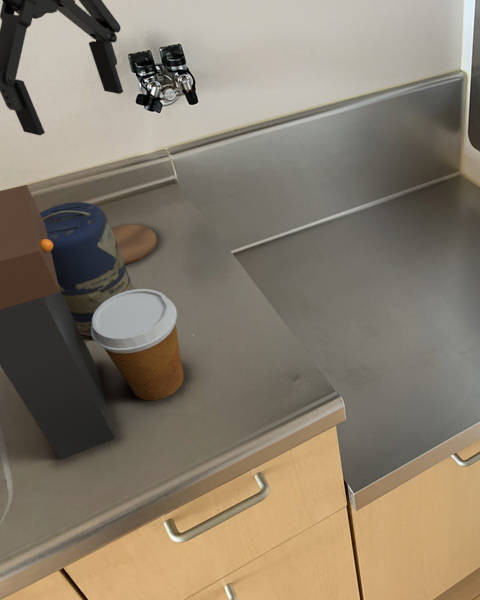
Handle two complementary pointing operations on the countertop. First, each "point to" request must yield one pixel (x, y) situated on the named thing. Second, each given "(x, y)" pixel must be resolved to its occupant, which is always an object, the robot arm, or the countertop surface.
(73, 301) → the canister
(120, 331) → the disposable coffee cup
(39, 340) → the wood-topped grey pedestal
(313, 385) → the countertop surface
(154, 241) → the cork coaster
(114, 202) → the countertop surface
